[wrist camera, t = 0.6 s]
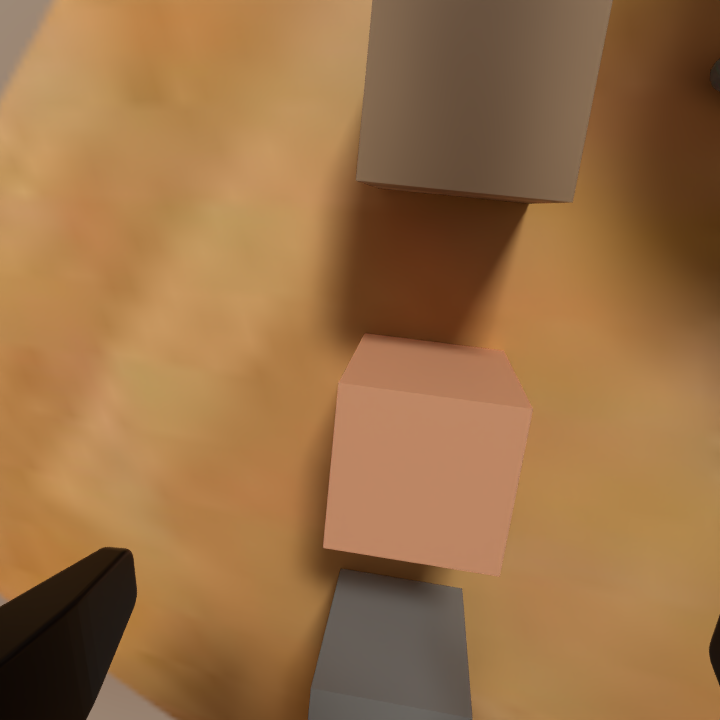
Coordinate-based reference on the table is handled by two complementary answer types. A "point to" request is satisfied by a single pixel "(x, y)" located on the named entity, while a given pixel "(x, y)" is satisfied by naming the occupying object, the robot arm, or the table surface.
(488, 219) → the table surface
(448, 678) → the charcoal block
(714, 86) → the walkie-talkie
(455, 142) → the walnut block
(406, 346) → the terracotta block
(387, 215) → the table surface
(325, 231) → the table surface
